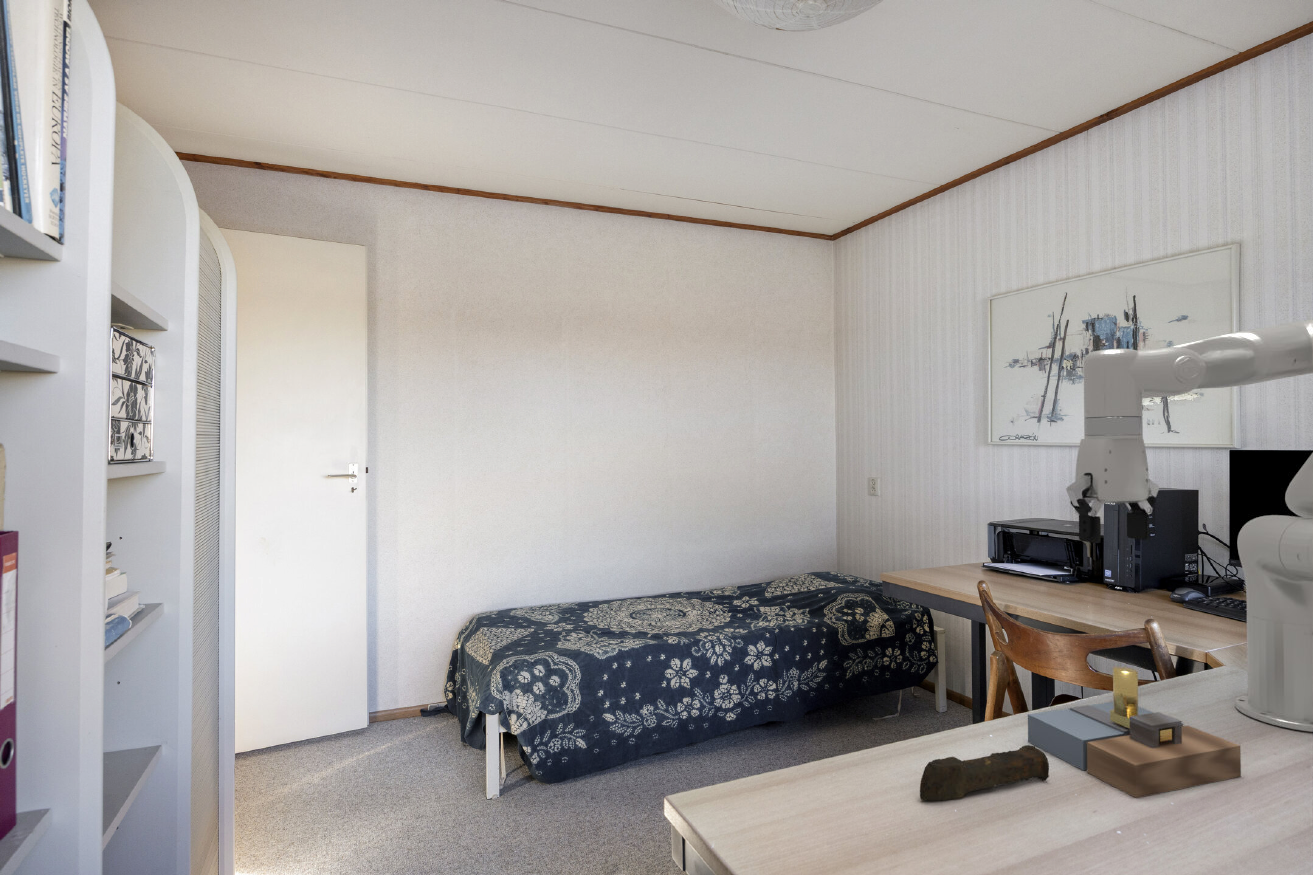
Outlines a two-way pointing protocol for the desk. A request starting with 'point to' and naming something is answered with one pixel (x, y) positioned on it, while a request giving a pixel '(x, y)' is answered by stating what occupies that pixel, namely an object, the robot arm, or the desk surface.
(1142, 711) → the door leaf
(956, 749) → the desk surface
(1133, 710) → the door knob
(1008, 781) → the hand tool
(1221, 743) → the door jamb
